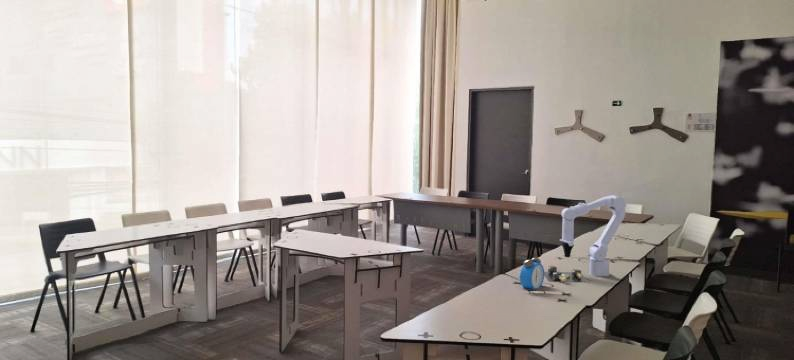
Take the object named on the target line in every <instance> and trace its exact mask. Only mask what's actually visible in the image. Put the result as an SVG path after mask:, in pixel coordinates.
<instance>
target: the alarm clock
mask: <svg viewBox="0 0 794 360" xmlns="http://www.w3.org/2000/svg"><path fill="white" fill-rule="evenodd" d="M522 264H523V265H522V267H521V269H520V273H519V274H520V275H519V280H520V281H519V282H520V285H521V287H523V288H525V289H530V290H531V292H533V291H534V290H537V289H538V288H541V287H542V285H543V283H544V279H545V276H544V272H545V269H544V265H543V264H542V260H541V259H540V258H538V257H537V256H536V257H532V258H531V259H525V260H524V261H523V263H522Z"/></svg>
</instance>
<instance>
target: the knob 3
mask: <svg viewBox="0 0 794 360" xmlns="http://www.w3.org/2000/svg"><path fill="white" fill-rule="evenodd" d="M571 271H572V277H575V278H582V275H583V274H582V270H581V269H572V270H571ZM581 274H582V275H581Z"/></svg>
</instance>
